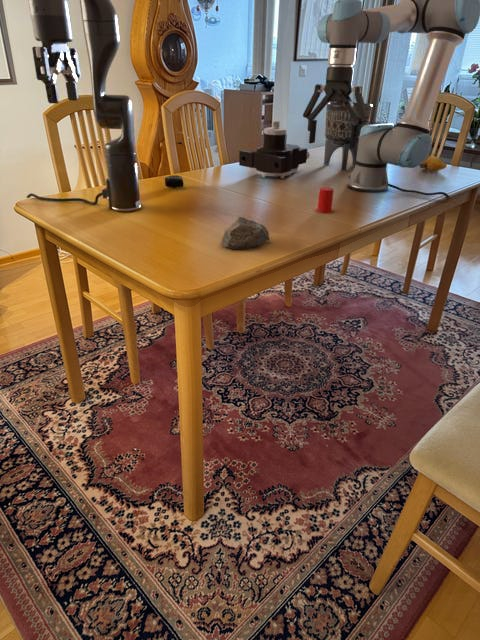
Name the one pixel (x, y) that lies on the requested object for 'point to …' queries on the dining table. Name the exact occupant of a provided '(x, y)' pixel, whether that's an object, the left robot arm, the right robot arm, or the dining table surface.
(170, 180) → the tape measure
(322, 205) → the canister
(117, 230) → the dining table surface
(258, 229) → the rock
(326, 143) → the planter
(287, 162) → the mechanical component
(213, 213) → the dining table surface
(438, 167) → the toy
